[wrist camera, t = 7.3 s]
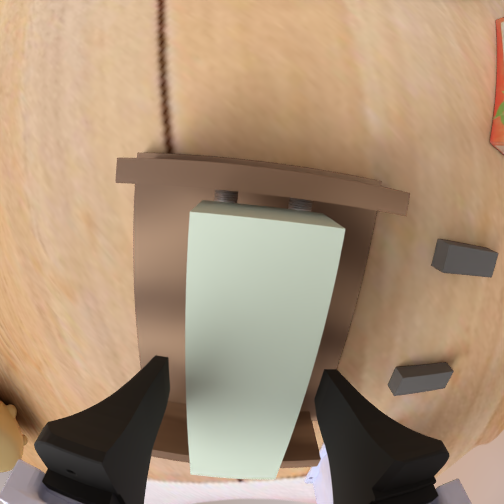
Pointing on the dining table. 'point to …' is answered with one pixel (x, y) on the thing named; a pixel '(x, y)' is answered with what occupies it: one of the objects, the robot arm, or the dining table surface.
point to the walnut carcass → (175, 263)
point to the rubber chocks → (456, 262)
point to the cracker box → (499, 92)
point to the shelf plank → (252, 330)
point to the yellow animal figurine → (10, 438)
